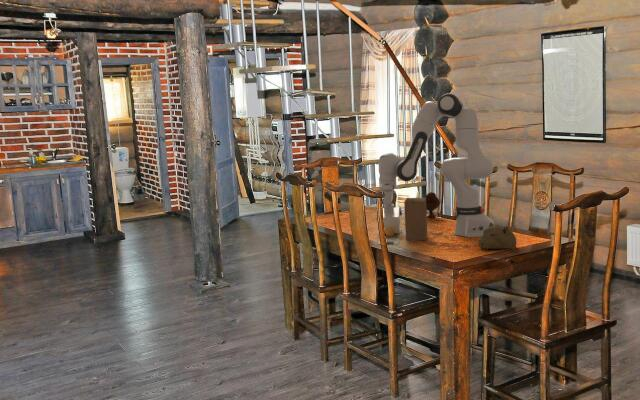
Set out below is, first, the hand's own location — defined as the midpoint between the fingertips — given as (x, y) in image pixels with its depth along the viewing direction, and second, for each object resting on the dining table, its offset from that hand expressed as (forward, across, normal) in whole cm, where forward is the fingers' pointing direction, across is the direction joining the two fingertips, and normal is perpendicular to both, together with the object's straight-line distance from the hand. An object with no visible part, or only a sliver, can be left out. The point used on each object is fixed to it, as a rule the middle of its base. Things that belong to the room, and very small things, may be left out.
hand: (388, 210), depth 364 cm
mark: (+12, +19, +1) cm, 22 cm away
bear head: (+12, +37, +52) cm, 65 cm away
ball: (+10, +7, 0) cm, 12 cm away
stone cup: (+13, -53, -3) cm, 55 cm away
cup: (+10, -3, 0) cm, 10 cm away
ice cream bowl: (+12, -40, +21) cm, 47 cm away
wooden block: (+12, +13, +15) cm, 23 cm away
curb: (+12, +25, +1) cm, 27 cm away
